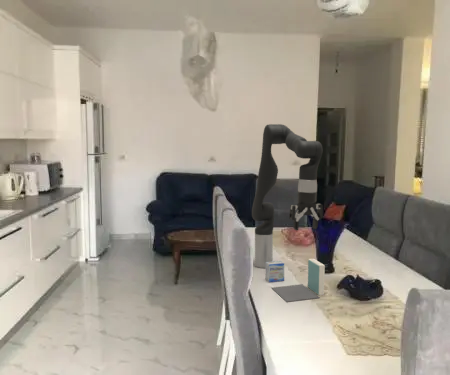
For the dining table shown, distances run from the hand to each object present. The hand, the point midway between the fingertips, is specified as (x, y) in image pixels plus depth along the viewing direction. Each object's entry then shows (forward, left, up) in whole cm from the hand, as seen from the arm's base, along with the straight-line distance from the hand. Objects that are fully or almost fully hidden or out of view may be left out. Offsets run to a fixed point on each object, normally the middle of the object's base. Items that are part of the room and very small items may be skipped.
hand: (305, 229), depth 170 cm
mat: (-5, -2, -29) cm, 30 cm away
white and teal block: (-5, +8, -29) cm, 31 cm away
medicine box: (-23, -4, -30) cm, 38 cm away
